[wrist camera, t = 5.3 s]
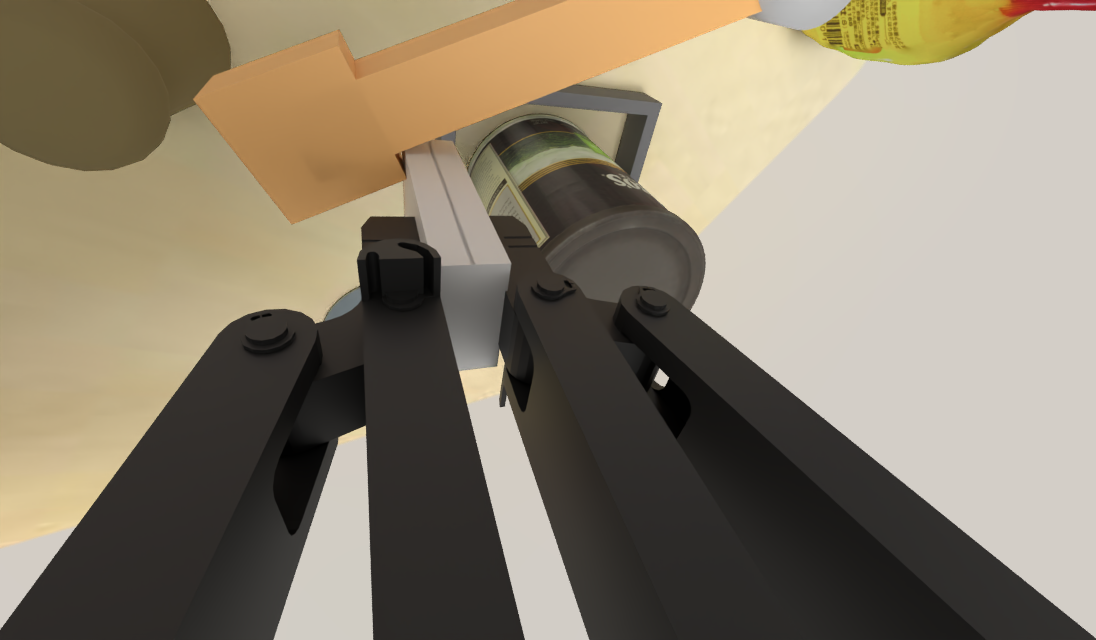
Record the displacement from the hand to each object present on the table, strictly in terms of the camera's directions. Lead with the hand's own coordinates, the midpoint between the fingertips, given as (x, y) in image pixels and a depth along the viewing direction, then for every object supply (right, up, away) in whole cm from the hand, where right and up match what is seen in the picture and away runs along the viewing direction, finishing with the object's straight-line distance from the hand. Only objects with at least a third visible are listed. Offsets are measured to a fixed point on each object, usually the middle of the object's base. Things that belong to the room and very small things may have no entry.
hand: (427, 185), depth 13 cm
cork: (-15, +9, +8) cm, 19 cm away
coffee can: (+2, +6, +19) cm, 20 cm away
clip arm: (+4, +4, -1) cm, 5 cm away
